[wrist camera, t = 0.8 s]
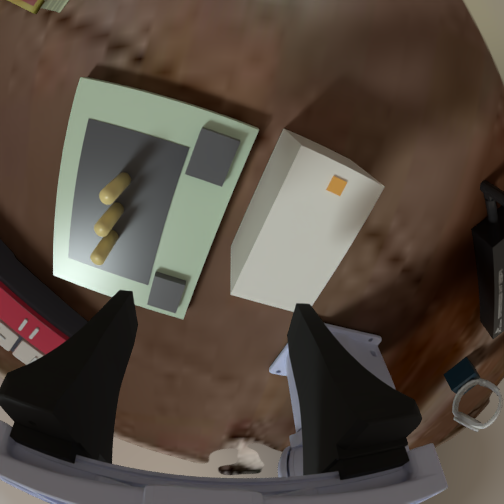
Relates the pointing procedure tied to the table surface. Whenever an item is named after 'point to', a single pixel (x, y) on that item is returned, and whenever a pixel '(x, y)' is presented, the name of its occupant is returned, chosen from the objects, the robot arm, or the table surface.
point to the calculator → (31, 312)
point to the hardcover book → (41, 4)
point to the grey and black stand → (491, 260)
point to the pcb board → (143, 192)
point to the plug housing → (299, 223)
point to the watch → (462, 382)
